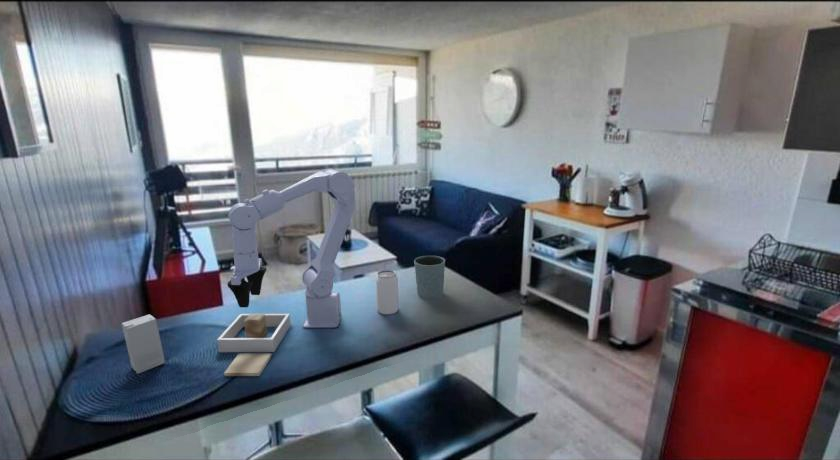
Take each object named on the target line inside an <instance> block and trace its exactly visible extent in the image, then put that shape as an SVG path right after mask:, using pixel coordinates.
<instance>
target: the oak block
mask: <svg viewBox="0 0 840 460" xmlns="http://www.w3.org/2000/svg"><path fill="white" fill-rule="evenodd" d="M249 314H250V315H249V316H248V317H247V318H246V319H245V321H244V326H245V327H244V332H245V338H266V336H267V335H268V331H267V326H266V320H265V314H266V313H249Z"/></svg>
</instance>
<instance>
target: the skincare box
mask: <svg viewBox="0 0 840 460" xmlns="http://www.w3.org/2000/svg"><path fill="white" fill-rule="evenodd" d="M121 328H122V332H123V335H124V339H125V344H126V349H127V352H128V357H129V361H130V365H131V368H132V370H133V371H136V372H135V373H136V374H138V375H139V374H141V373H143V372H147V371H148V370H151V369H153V368H155V367H159V366H161V365H164V364H165V363H166V359H165V356H164V351H163V347H162V346H163V345H162V341H161V335H160V331H159V326H158V322H157V318H155V317H154V316H153V315H151V314H146V315H143V316H140V317H137V318H134V319H130V320H127V321H125V322H121Z"/></svg>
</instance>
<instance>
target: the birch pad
mask: <svg viewBox="0 0 840 460" xmlns="http://www.w3.org/2000/svg"><path fill="white" fill-rule="evenodd" d="M271 357H272V353H238V354H237V355H236V357H235V358H234V359H233V360H232V362H230V364H229V366H227V368H226V370H225V371H224V372H223V375H224V377H259V376H260V375H261V374H262V373H263V371H264V369H265V367H266V366H267V365H268V362H269V361H270V359H271Z"/></svg>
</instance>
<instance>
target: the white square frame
mask: <svg viewBox="0 0 840 460" xmlns="http://www.w3.org/2000/svg"><path fill="white" fill-rule="evenodd" d="M250 314H251V313H240V314H239V315H238V316H237V317H236V318H235V319H234V320H233V321H232V322H231V323H230V325H229V326H228V327H227V328H226V329H225V330H224V331H223V332H222V334H220V335H219V337H217V339H216V343H217V349H218V353H275V351H276V350H277V348H278V347H279V345H280V343H281V342H282V340H283V338H284V337H285V335H286V334H287V332H288V330H289V329H290V327H291V325H292V323H291V314H290V313H264V314H265V320H266V327H277V328H276V329H275V331H274V332H273V334H272V336H271V337H265V338H246V337H236V336H237V335H238V334H239V333H240V331H241V330H242V329H243V328H245V326H244V321H245V319H246V318H247V317H248V316H249V315H250Z"/></svg>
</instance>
